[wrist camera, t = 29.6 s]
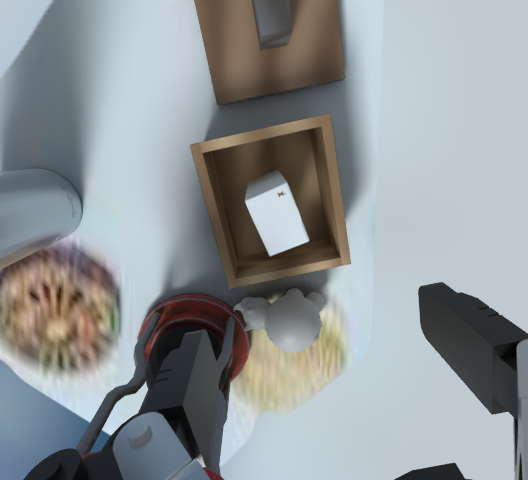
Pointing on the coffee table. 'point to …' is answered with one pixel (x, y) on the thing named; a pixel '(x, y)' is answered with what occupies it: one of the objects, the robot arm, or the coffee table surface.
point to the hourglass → (169, 338)
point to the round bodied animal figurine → (285, 318)
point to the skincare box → (275, 213)
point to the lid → (270, 45)
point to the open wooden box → (302, 188)
